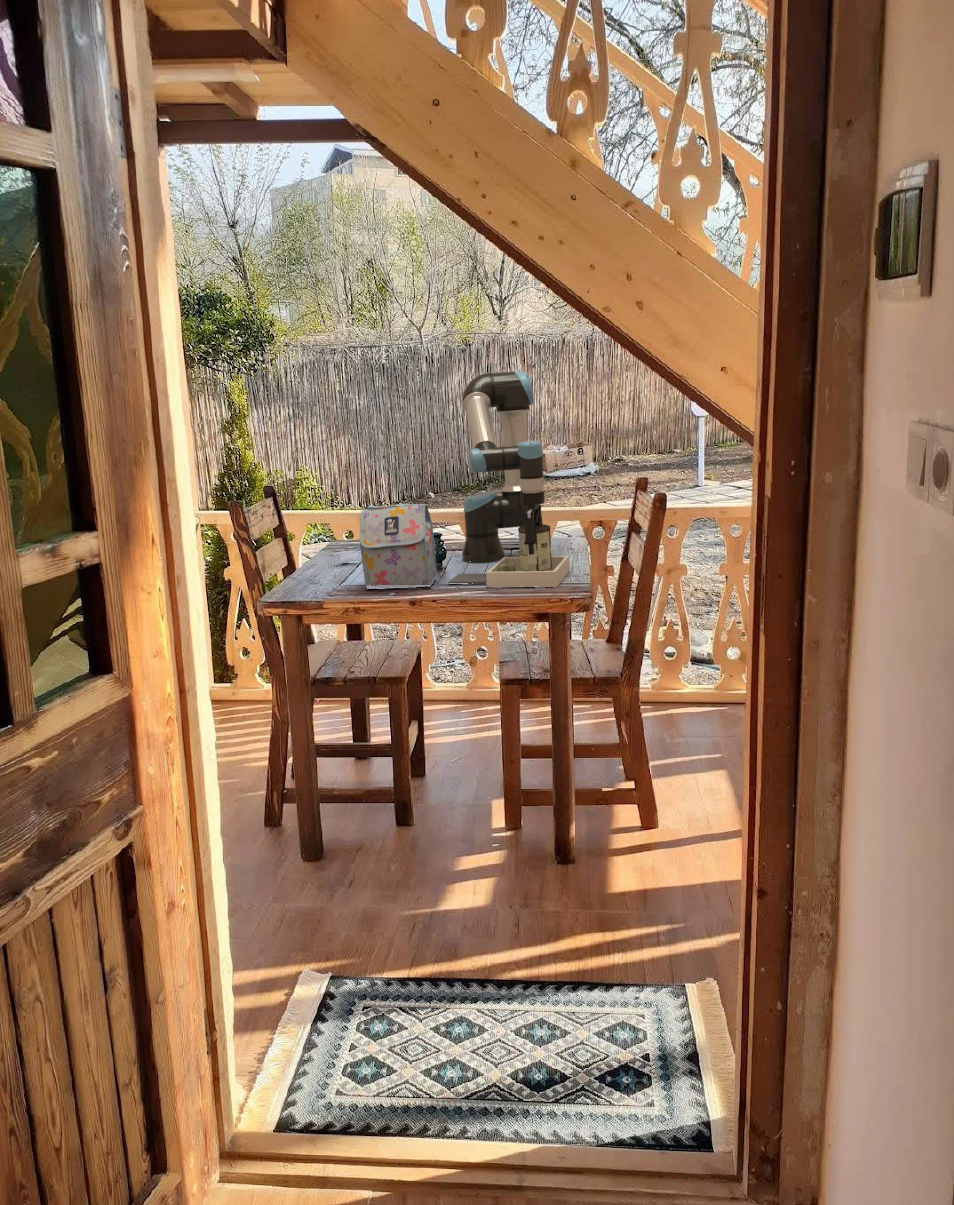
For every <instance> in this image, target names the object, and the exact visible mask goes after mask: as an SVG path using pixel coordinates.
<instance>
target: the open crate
mask: <svg viewBox="0 0 954 1205" xmlns="http://www.w3.org/2000/svg"><path fill="white" fill-rule="evenodd" d="M508 563H515V572H500V566H501V565H502V564H508ZM569 572H570V556H567V555H566V556H565V555H564V556H563V555H561V556H560V555H559V556H555V555H554V556H552V571H521V563H520V556H508V557H507V556H505V557H503V558H502V559H501V560H498V562H496V563H495V564H494V565H493V566H492V567H491V568H489V570H487V571H486V572H485V574H486V577H487V583H486V588H487V587H519V586H538V587H553V589H555V588H557V587H559V585H560V584H561V583H562V581H563V580H564V579H565V578H566V576H567V575H568V574H569Z"/></svg>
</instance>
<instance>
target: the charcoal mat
mask: <svg viewBox="0 0 954 1205" xmlns="http://www.w3.org/2000/svg"><path fill="white" fill-rule="evenodd" d="M486 582H487V577H486V573H458V574H457V575H456V576H454V577H453V578H452V579H450V580H449V581H448V584H449V583H468V584H472V583H473V584H485V585H487V583H486Z"/></svg>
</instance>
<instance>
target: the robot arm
mask: <svg viewBox="0 0 954 1205" xmlns="http://www.w3.org/2000/svg"><path fill="white" fill-rule="evenodd" d="M534 400H535V399H534V392H533V385H532V381H531V378H530V376H529V374H528V373H527V372H526V371H522V370H521V371H520V370H518V371H515V370H513V371H502V372H491V373H489V372H488V373H482V374H480V375H477V376H475V377H474V378H472V380H470V382H469V383H468V384H467V385H466V387H465V388H464V390H463V393H462V397H461V403H462V409H463V411H464V412H465V413H466V415H467V419H468V426H469V431H470V432H469V433H470V438H471V441H472V442H471V443H472V444H471V445H472V449H469V451H468V461H469V470H470V472H472V473H482V474H483V473H488V472H489V473H490V472H500V471H501V472H502V471H504V479H505V480H504V482H505V484H504V487H503V488H502V489H501V495H497V493H496V492H495V491H489V492H488V491H487V492H481V493H476V494H472V495H469V496H468V497H466V498H465V499H464V501H463V513H464V526H465V528H464V529H465V542H464V546H463V549H462V554H461V555H462V561H463V562H465V561H471V562H470V563H472V562H482V563H491V562H497V561H498V562H499V561H500V560H501V559H502V558H503V557H506V556H505V551H504V550H505V549H504V548H503V545H502V543H501V540H500V536H499V529H509V528H510V529H511V528H519V527H521V526H526V527H525V542H524V544H527V553H528V564H537V554H536V544H535V531H534V530H536V526H540V525H541V524H543V525H544V523H543V516H542V514H543V513H542V504H544V503H545V502H546V498H545V497H546V496H545V491H543V490H544V489H545V484H546V482H547V481H546V480H545V479H544V460H543V459H544V458H543V454H544V451H543V445H542V442H541V441H539V440H528V434H527V420H526V419H527V417H526V415H527V414H528V413H529V412H530V410H531V409H530V406H532V405H533V404H534V403H535V402H534ZM490 408H495V409H496V414H498V416H500V420H501V433H502V436H501V437H502V446H498V447H497V443H496V442H497V441H496V438H495V431H494V428H493V423H492V416H491V413H490Z"/></svg>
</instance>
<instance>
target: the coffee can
mask: <svg viewBox="0 0 954 1205" xmlns="http://www.w3.org/2000/svg"><path fill="white" fill-rule="evenodd" d="M525 527H526V526H521V527H517V530H518V543H519V544H518V545H519V557H520V563H521V571H552V557H553V556H552V540H551V539H552V538H551V525H550V524H544V523H543V524H541V525H540V526H536V530H534V531H535V544H536V554H537V564H528V553H527V544H524V542H525Z"/></svg>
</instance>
